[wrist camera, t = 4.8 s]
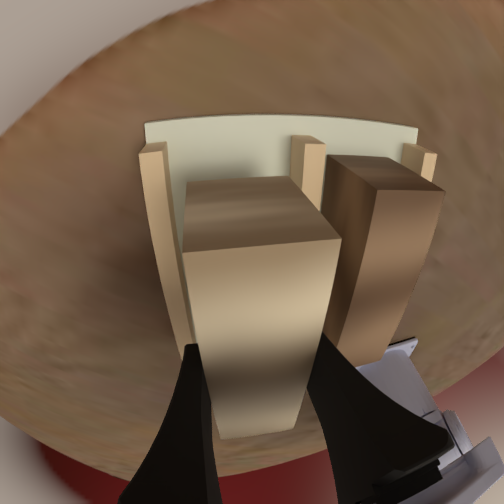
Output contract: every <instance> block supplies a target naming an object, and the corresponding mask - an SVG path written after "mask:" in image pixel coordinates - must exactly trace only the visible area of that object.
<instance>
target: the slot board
mask: <svg viewBox="0 0 504 504" xmlns="http://www.w3.org/2000/svg"><path fill="white" fill-rule="evenodd" d="M417 133H418V128H415V127H412V126H407V125H400V124H394V123H388V122H380V121H373V120H365V119H356V118H345V117H334V116H320V115H300V114H231V115H211V116H197V117H185V118H175V119H166V120H157V121H150V122H146V123H145V135H146V145H145V146H144V148H143V149H142V150H141V151H140V153H139V161H140V169H141V176H142V183H143V190H144V196H145V203H146V209H147V214H148V220H149V226H150V231H151V237H152V242H153V247H154V252H155V257H156V261H157V266H158V271H159V275H160V280H161V284H162V288H163V292H164V297H165V301H166V305H167V309H168V313H169V317H170V320H171V324H172V328H173V332H174V335H175V339H176V342H177V346H178V349H179V353H180V356H181V359H182V360H183V354H184V346H185V345H186V344H193V343H198V341H197V336H196V331H195V326H194V320H193V315H192V310H191V304H190V298H189V293H188V287H187V281H186V275H185V268H184V262H183V255H182V245H183V227H184V211H185V198H186V185H187V182H192V181H204V180H216V179H230V178H247V177H267V176H289V177H290V178H291V179H292V180H293V182H294V183H295V184H296V185H297V186H298V187H299V188H300V189H301V191H302V192H303V193H304V194H305V195H306V196H307V197H308V199H309V200H310V201H311V202H312V203H313V204H314V206H315V207H316V208H317V209H318V210H319V212H320V213H321V208H322V199H323V191H324V181H325V171H326V161H327V154H333V155H359V156H376V157H389V158H391V159H392V160H394V161H396V162H398V163H400V164H401V165H403V166H405V167H407V168H408V169H410V170H412V171H413V172H415V173H417V174H419V175H420V176H422V177H423V178H425V179H427V180H428V181H430V182H432V177H433V173H434V168H435V163H436V157H437V154H436V153H434V152H431V151H429V150H427V149H425V148H423V147H421V146H419V145H416V140H417Z"/></svg>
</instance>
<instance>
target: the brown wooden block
mask: <svg viewBox="0 0 504 504" xmlns="http://www.w3.org/2000/svg"><path fill="white" fill-rule="evenodd" d="M445 192H446V191H444V190H443V189H441V188H439V187H438V186H436V185H435V184H433V183H432V182H430V181H428V180H427V179H425V178H423V177H422V176H420V175H419V174H417V173H415V172H413V171H412V170H410V169H408V168H407V167H405V166H403V165H401V164H400V163H398V162H396V161H394V160H392V159H391V158H389V157H376V156H359V155H333V154H327V161H326V171H325V181H324V191H323V199H322V208H321V214H322V215H323V216H324V217H325V219H326V220H327V221H328V222H329V223H330V225H331V226H332V227H333V228H334V230H335V231H336V232H337V233H338V234H339V236H340V237H341V238H342V241H341V246H340V252H339V257H338V262H337V267H336V272H335V277H334V281H333V286H332V291H331V295H330V300H329V304H328V308H327V313H326V317H325V321H324V325H323V329H322V331H323V333H324V334H325V335H326V336H327V337H328V339H329V340H330V341H331V342H332V343H333V344H334V346H335V347H336V348H337V349H338V350H339V351H340V352H341V353H342V354H343V356H344V357H345V358H346V359H347V360H348V361H349V362H350V363H351V364H352V365H353V366H354V367H359V366H362V365H366V364H370V363H373V362H377V361H380V360H381V359H382V357H383V355H384V353H385V351H386V349H387V347H388V345H389V343H390V341H391V339H392V337H393V335H394V333H395V331H396V329H397V326H398V324H399V322H400V320H401V318H402V316H403V313H404V311H405V309H406V306H407V304H408V302H409V299H410V297H411V295H412V292H413V290H414V287H415V285H416V282H417V280H418V277H419V275H420V272H421V269H422V267H423V264H424V261H425V258H426V255H427V252H428V250H429V247H430V244H431V241H432V237H433V234H434V231H435V228H436V225H437V221H438V218H439V214H440V211H441V207H442V204H443V200H444V196H445Z"/></svg>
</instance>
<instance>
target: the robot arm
mask: <svg viewBox="0 0 504 504" xmlns="http://www.w3.org/2000/svg"><path fill="white" fill-rule="evenodd" d="M417 343H418V340H417V338H414V339H411V340H407V341H404V342H401V343H398V344H394V345H391V346H388V347H387V349H386V351H385V353H384V355H383V357H382V359H381V360H380V361H377V362H373V363H370V364H366V365H362V366H359V367H354V366H353V365H352V364H351V363H350V362H349V361H348V360H347V359H346V358H345V357H344V356H343V354H342V353H341V352H340V351H339V350H338V349H337V348H336V347H335V346H334V344H333V343H332V342H331V341H330V340H329V339H328V337H327V336H326V335H325V334H324V333H323V331H322V333H321V337H320V341H319V345H318V348H317V352H316V356H315V360H314V363H313V367H312V370H311V374H310V377H309V381H308V384H307V387H306V388H307V390H308V393H309V395H310V398H311V400H312V403H313V405H314V408H315V411H316V413H317V416H318V418H319V421H320V423H321V426H322V429H323V433H324V436H325V440H326V444H327V448H328V452H329V456H330V460H331V465H332V469H333V474H334V479H335V485H336V491H337V498H338V504H473V503H475V502H476V500H478V499H479V498H480V496H482V495H483V494H484V493H485V492H486V491H487V490H488V489H489V488H490V487H491V486H492V485H493V484H495V483H496V482H497V481H498V480H499V479H500V478H501V477H502V476H503V475H504V464H503V462H502V460H501V457H500V455H499V453H498V451H497V449H496V447H495V445H494V443H493V441H492V439H491V437H487V438H486V439H485V440H483V441H482V442H481V443H479V444H478V445H477V446H475V447H474V448H473V445H472V443H471V441H470V439H469V437H468V435H467V433H466V431H465V429H464V427H463V426H462V424H461V422H460V420H459V418H458V417H457V415H456V413H455V412H454V411H451V410H450V411H449V410H446V411H445V412H443V413H442V412H441V411H440V410H439V409H438V407H437V405H436V404H435V402H434V400H433V398H432V396H431V394H430V393H429V391H428V389H427V387H426V386H425V384H424V382H423V380H422V379H421V377H420V375H419V373H418V372H417V370H416V368H415V367H414V365H413V363H412V362H411V360H410V358H409V356H410V355H411V353H412V351H413V350H414V348H415V346H416V344H417ZM117 504H223V503H222V498H221V493H220V488H219V482H218V476H217V471H216V465H215V458H214V452H213V443H212V419H211V399H210V395H209V391H208V387H207V382H206V378H205V374H204V369H203V365H202V360H201V355H200V351H199V346H198V343H193V344H186V345H185V346H184V354H183V360H182V365H181V369H180V373H179V377H178V380H177V383H176V387H175V390H174V393H173V396H172V399H171V402H170V405H169V408H168V410H167V413H166V416H165V418H164V420H163V423H162V425H161V427H160V430H159V432H158V434H157V436H156V438H155V440H154V442H153V444H152V446H151V448H150V450H149V452H148V454H147V455H146V457H145V459H144V461H143V462H142V464H141V466H140V467H139V469H138V470H137V472H136V474H135V475H134V477H133V478H132V480H131V481H130V483H129V484H128V485H127V487H126V488H125V489H124V491H123V492H122V494H121V495H120V496H119V499H118V503H117Z"/></svg>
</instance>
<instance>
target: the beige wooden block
mask: <svg viewBox="0 0 504 504" xmlns="http://www.w3.org/2000/svg"><path fill="white" fill-rule="evenodd" d="M341 241H342V238H341V237H340V236H339V234H338V233H337V232H336V231H335V230H334V228H333V227H332V226H331V225H330V223H329V222H328V221H327V220H326V219H325V217H324V216H323V215H322V214H321V213H320V212H319V210H318V209H317V208H316V207H315V206H314V204H313V203H312V202H311V201H310V200H309V199H308V197H307V196H306V195H305V194H304V193H303V192H302V191H301V189H300V188H299V187H298V186H297V185H296V184H295V183H294V182H293V180H292V179H291V178H290V177H289V176H267V177H247V178H230V179H216V180H204V181H192V182H187V185H186V198H185V211H184V227H183V245H182V255H183V262H184V268H185V275H186V281H187V287H188V293H189V298H190V304H191V310H192V315H193V320H194V326H195V331H196V336H197V341H198V346H199V351H200V355H201V360H202V365H203V369H204V374H205V378H206V382H207V387H208V391H209V395H210V399H211V403H212V408H213V412H214V415H215V419H216V423H217V427H218V431H219V435H220V438H221V440H224V439H233V438H241V437H248V436H255V435H261V434H267V433H273V432H279V431H284V430H289V429H293V428H294V425H295V422H296V419H297V416H298V413H299V410H300V407H301V404H302V400H303V397H304V394H305V391H306V387H307V384H308V381H309V377H310V374H311V370H312V367H313V363H314V360H315V356H316V352H317V348H318V345H319V341H320V337H321V333H322V329H323V325H324V321H325V317H326V313H327V308H328V304H329V300H330V295H331V291H332V286H333V281H334V277H335V272H336V267H337V262H338V257H339V252H340V246H341Z"/></svg>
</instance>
